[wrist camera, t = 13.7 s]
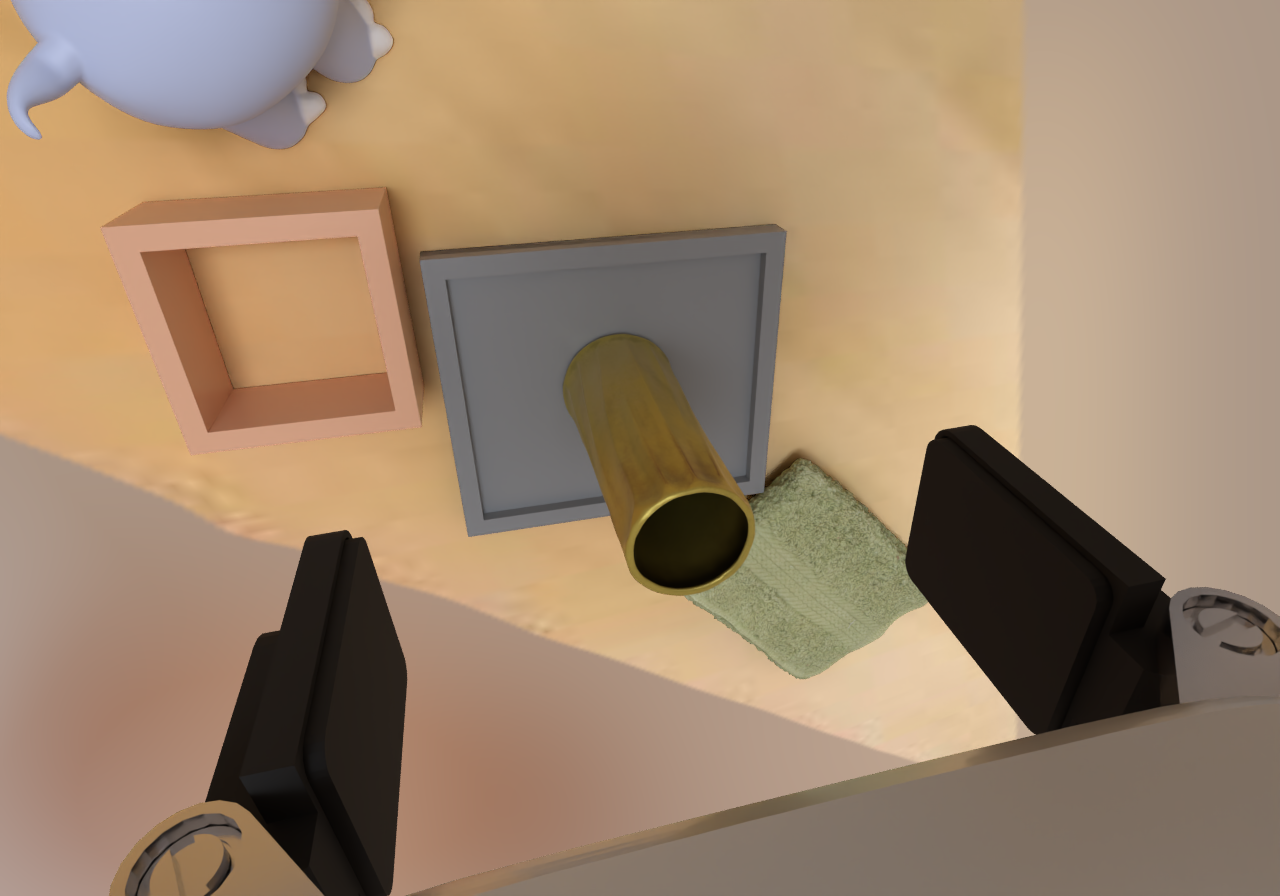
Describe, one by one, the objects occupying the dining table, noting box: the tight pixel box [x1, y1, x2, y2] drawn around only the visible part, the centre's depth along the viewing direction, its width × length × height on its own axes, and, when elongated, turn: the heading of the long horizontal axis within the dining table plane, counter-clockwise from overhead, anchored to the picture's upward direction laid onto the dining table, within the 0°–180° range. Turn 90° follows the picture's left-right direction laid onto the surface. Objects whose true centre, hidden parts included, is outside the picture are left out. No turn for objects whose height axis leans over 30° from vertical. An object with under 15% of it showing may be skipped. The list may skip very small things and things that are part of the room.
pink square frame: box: [100, 187, 424, 455], centre depth 32 cm, size 10×10×4 cm
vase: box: [563, 334, 755, 596], centre depth 33 cm, size 6×6×14 cm
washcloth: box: [684, 458, 928, 679], centre depth 49 cm, size 13×18×3 cm
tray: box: [420, 224, 787, 537], centre depth 39 cm, size 18×16×2 cm
